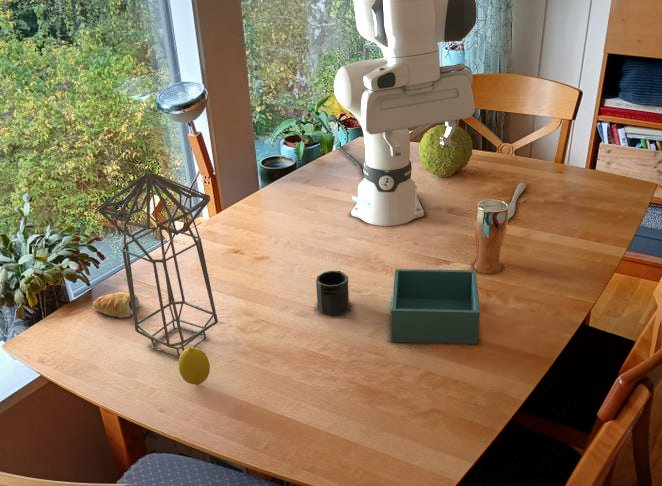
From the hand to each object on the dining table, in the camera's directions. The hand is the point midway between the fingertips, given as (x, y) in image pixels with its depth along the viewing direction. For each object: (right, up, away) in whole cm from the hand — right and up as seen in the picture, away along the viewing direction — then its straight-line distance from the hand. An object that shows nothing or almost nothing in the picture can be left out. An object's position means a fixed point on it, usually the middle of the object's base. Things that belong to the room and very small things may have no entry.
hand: (420, 151), depth 135 cm
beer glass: (+19, -17, +32) cm, 41 cm away
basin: (+4, -30, +15) cm, 34 cm away
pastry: (-62, -28, +23) cm, 72 cm away
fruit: (+16, +16, +80) cm, 84 cm away
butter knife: (+32, +3, +61) cm, 68 cm away
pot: (-16, -27, +21) cm, 38 cm away
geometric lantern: (-47, -35, +12) cm, 59 cm away
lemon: (-41, -43, 0) cm, 59 cm away
